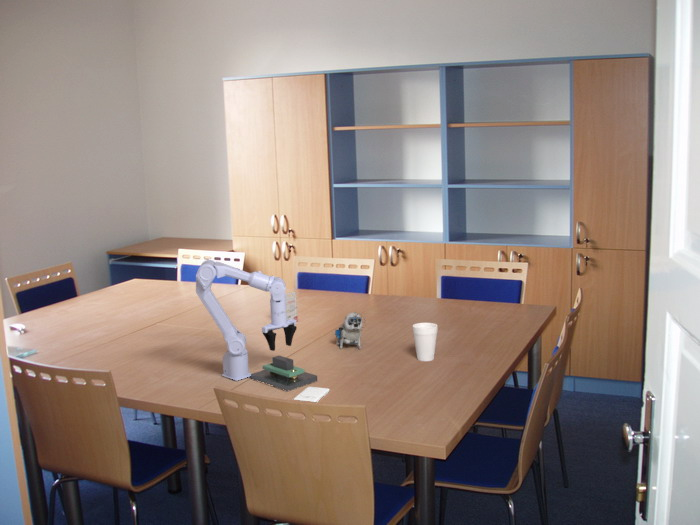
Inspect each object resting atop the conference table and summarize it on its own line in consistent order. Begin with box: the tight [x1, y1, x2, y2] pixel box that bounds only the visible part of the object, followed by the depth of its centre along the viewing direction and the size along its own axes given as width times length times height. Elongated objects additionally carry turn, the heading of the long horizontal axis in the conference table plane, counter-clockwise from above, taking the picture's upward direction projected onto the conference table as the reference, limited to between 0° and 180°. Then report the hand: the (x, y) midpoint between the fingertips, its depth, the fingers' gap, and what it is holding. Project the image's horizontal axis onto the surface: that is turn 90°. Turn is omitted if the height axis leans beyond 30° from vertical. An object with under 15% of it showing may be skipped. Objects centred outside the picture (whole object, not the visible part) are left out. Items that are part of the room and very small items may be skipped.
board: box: [261, 355, 306, 378], centre depth 263 cm, size 15×7×4 cm, turn 45°
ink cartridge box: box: [285, 290, 299, 323], centre depth 342 cm, size 9×5×15 cm, turn 147°
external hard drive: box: [293, 386, 330, 403], centre depth 247 cm, size 2×8×12 cm
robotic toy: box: [334, 311, 366, 350], centre depth 302 cm, size 13×17×15 cm
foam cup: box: [412, 322, 439, 362], centre depth 282 cm, size 10×9×13 cm
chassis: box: [250, 369, 318, 392], centre depth 264 cm, size 20×14×5 cm
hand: (280, 347), depth 270 cm, fingers open, 7 cm apart
